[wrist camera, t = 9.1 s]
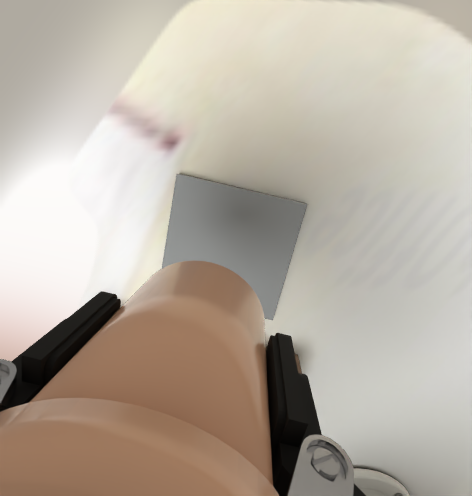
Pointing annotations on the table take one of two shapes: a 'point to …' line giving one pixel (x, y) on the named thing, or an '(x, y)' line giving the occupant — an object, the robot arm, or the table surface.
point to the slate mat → (235, 233)
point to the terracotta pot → (154, 399)
